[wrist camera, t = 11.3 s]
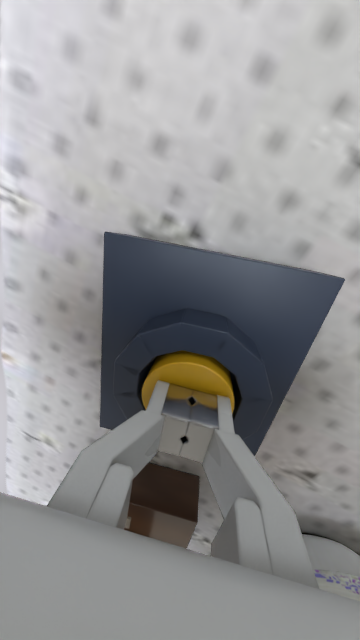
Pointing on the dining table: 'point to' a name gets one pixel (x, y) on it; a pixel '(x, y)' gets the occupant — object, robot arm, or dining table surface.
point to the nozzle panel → (164, 505)
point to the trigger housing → (206, 323)
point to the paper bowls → (334, 566)
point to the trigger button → (189, 375)
